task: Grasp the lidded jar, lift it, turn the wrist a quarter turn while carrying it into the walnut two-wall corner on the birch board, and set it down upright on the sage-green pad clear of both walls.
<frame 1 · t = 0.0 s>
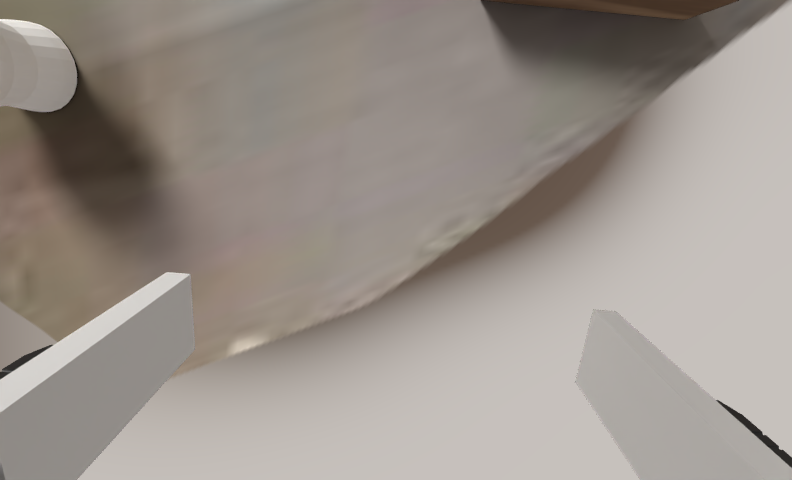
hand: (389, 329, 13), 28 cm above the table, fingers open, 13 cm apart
cup: (37, 68, 38), on the table
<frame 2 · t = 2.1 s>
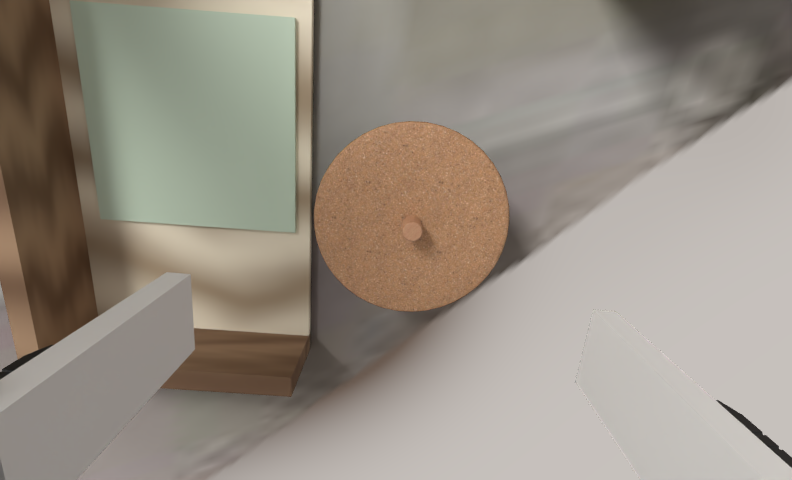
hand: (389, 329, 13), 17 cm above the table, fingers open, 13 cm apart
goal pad: (197, 125, 28), resting on board
lidded jar: (408, 196, 30), on the table
walls: (187, 181, 29), resting on board
board: (187, 181, 29), on the table
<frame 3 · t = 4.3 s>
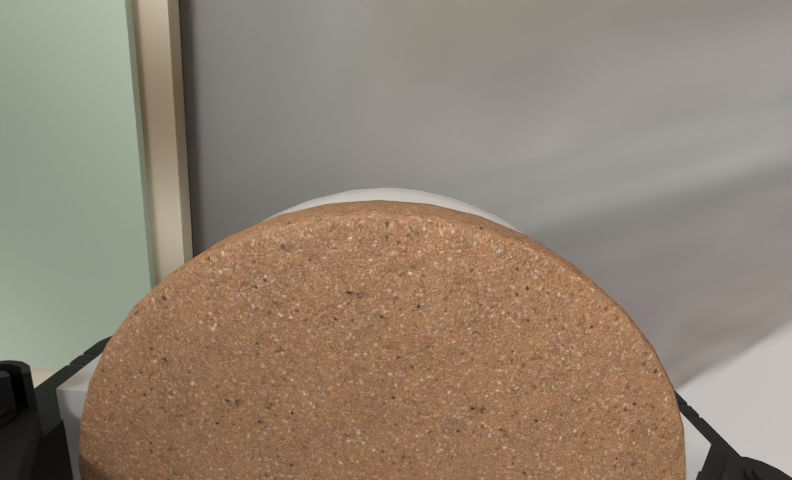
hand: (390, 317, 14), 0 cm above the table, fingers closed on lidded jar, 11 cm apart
lidded jar: (391, 308, 15), on the table, touching gripper
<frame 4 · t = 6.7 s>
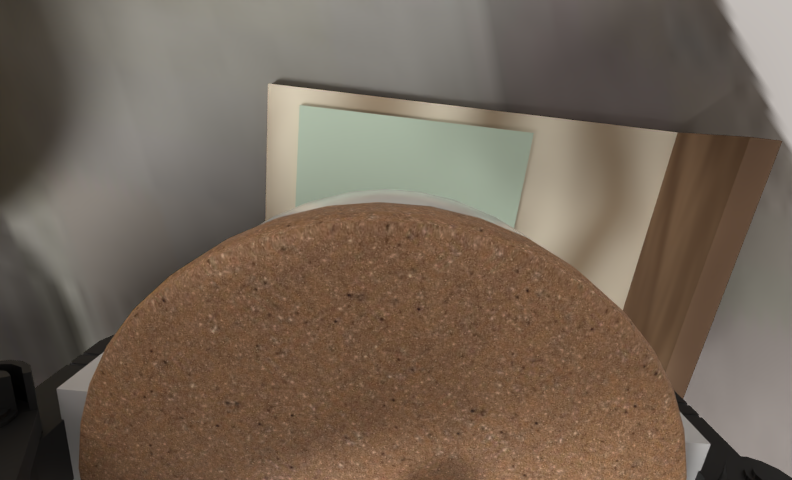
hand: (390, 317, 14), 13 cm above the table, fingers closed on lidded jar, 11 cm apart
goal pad: (403, 227, 27), resting on board
lidded jar: (391, 309, 15), point 13 cm above the table, touching gripper
walls: (460, 249, 27), resting on board
board: (460, 249, 27), on the table
when the fingers open (3 cm above the table, at t = 9.4 s): lidded jar drops 1 cm, resting on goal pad.
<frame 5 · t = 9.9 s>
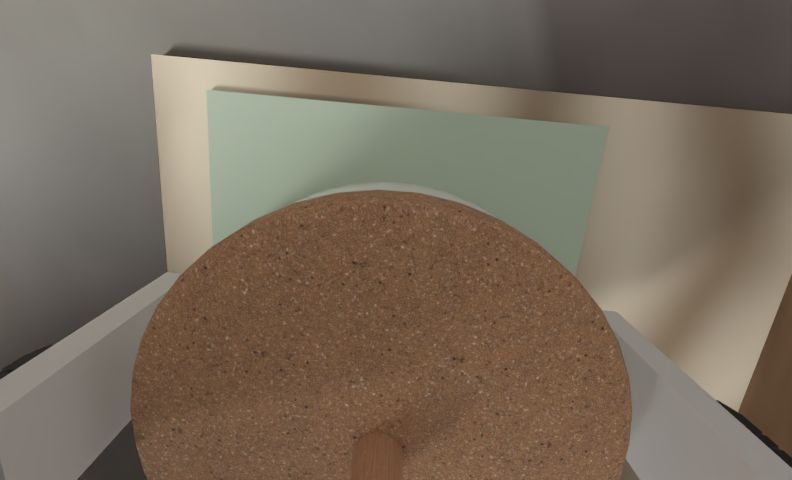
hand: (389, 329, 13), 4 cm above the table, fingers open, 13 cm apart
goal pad: (392, 285, 17), resting on board
lidded jar: (390, 293, 16), point 1 cm above the table, touching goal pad
walls: (484, 315, 17), resting on board
board: (484, 315, 17), on the table
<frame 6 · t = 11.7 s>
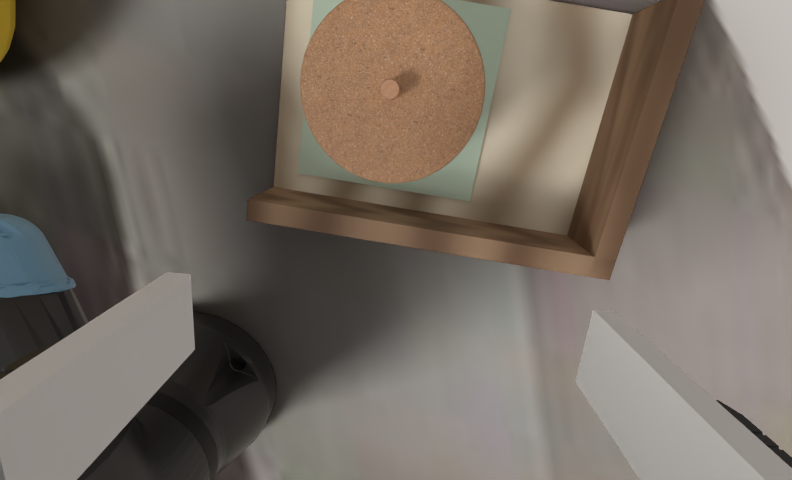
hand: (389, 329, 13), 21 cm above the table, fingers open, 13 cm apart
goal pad: (398, 97, 32), resting on board
lidded jar: (397, 97, 31), point 1 cm above the table, touching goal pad
walls: (446, 118, 32), resting on board
board: (446, 118, 32), on the table
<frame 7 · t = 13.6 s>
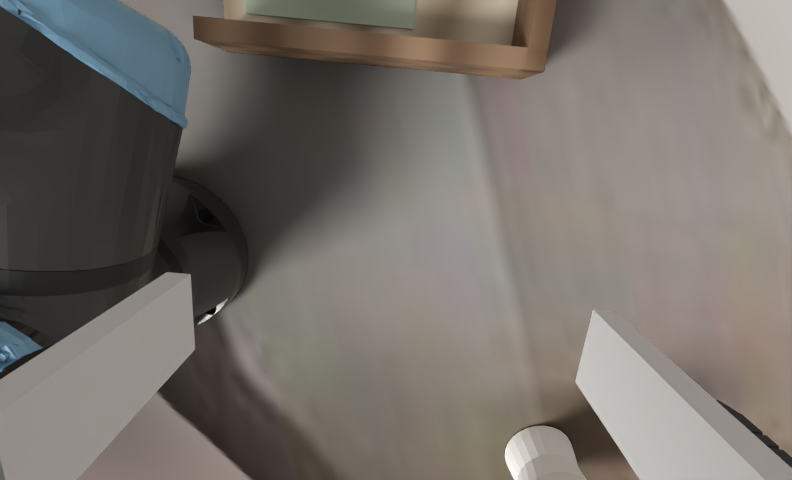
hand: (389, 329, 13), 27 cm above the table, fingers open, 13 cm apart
cup: (537, 451, 48), on the table
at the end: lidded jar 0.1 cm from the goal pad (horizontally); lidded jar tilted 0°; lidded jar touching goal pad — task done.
